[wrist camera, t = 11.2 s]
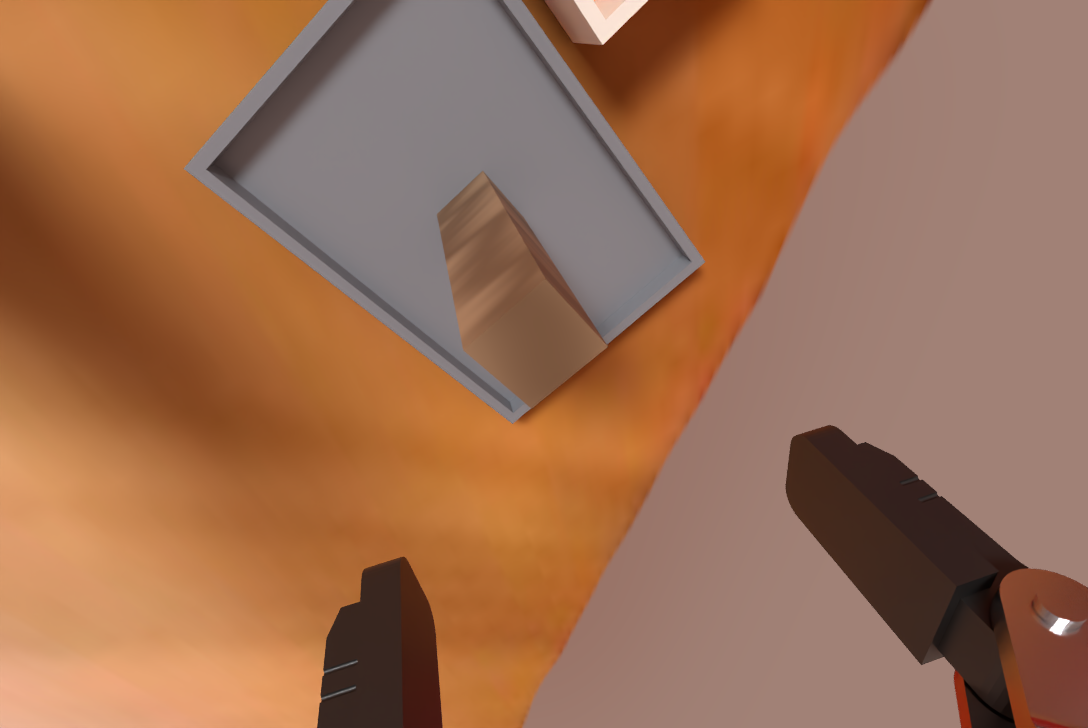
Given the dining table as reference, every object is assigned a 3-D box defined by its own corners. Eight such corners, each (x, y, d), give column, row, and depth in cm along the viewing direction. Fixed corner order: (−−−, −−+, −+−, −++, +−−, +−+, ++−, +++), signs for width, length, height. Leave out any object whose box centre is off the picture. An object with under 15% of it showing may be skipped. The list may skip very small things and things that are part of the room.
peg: (479, 257, 29) (531, 408, 17) (436, 214, 27) (463, 350, 16) (523, 217, 28) (607, 346, 17) (482, 170, 27) (545, 278, 15)
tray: (507, 407, 35) (512, 423, 34) (196, 160, 24) (183, 168, 23) (691, 251, 32) (705, 261, 31) (432, -113, 21) (434, -124, 20)
